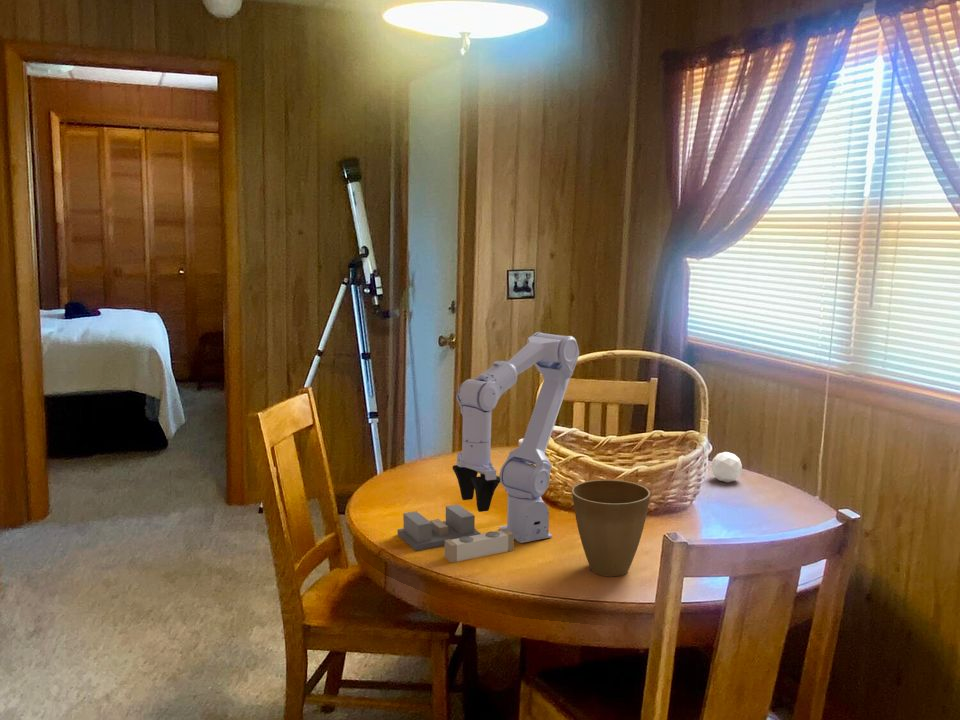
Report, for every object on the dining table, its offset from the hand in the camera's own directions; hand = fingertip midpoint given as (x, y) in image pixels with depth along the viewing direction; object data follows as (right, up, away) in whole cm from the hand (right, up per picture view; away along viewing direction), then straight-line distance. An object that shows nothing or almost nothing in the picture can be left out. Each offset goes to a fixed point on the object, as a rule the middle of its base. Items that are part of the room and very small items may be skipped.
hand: (475, 505), depth 172 cm
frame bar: (+1, -10, +2) cm, 10 cm away
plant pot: (+26, -12, -5) cm, 29 cm away
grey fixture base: (-8, -9, +10) cm, 16 cm away
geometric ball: (+65, -2, +51) cm, 83 cm away
